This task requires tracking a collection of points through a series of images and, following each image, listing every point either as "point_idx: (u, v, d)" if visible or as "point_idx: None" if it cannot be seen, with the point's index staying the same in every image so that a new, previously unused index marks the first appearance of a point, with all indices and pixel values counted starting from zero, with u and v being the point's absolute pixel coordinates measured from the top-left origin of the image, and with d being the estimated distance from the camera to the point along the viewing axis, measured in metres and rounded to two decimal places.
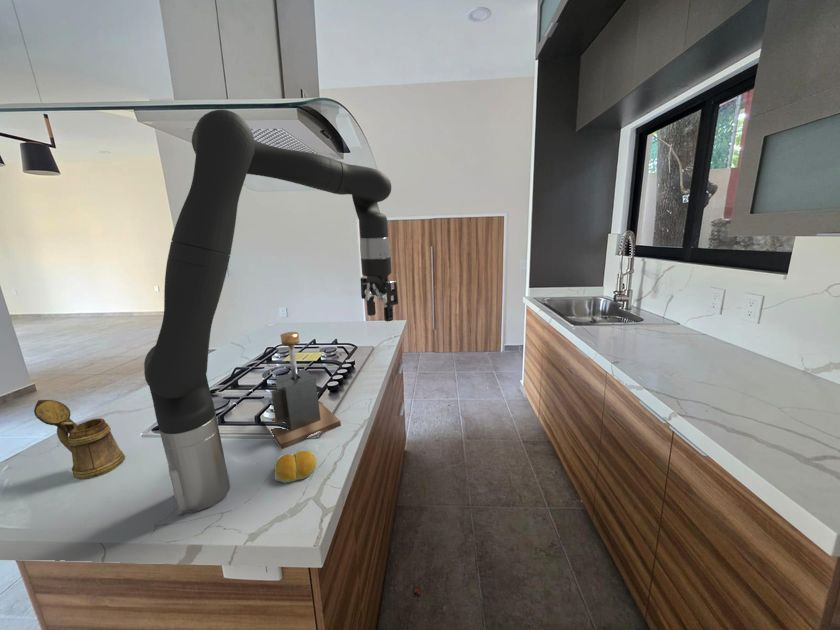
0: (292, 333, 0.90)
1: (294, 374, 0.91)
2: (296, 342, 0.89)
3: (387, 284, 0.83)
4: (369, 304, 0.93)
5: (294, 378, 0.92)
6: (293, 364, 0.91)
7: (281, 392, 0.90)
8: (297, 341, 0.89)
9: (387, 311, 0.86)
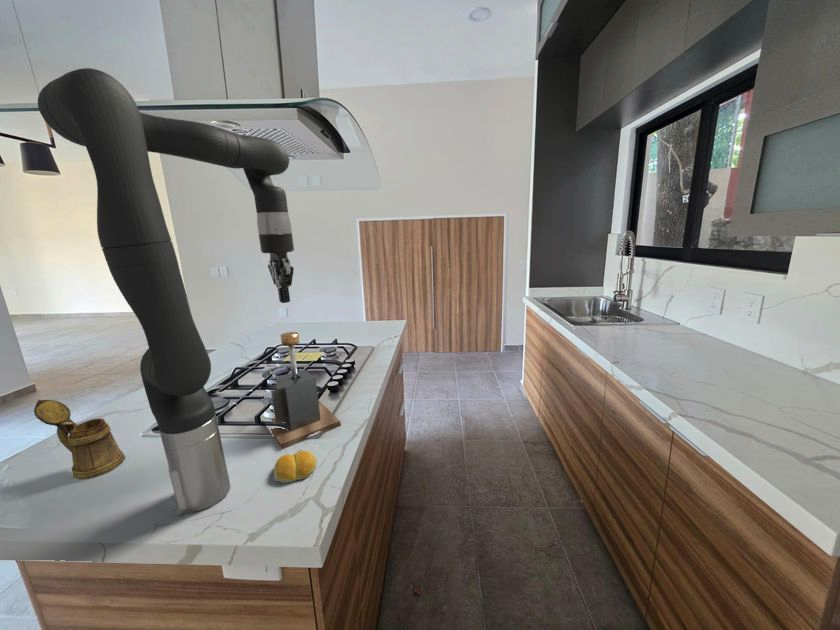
0: (292, 333, 0.90)
1: (294, 374, 0.91)
2: (296, 342, 0.89)
3: (282, 270, 0.80)
4: None
5: (294, 378, 0.92)
6: (293, 364, 0.91)
7: (281, 392, 0.90)
8: (297, 341, 0.89)
9: (281, 292, 0.85)
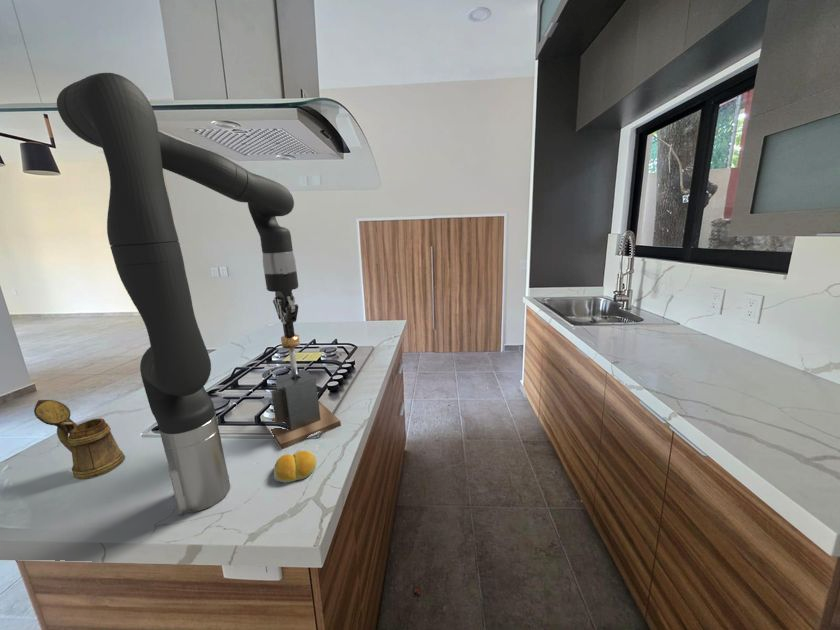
0: None
1: (295, 376, 0.92)
2: (296, 344, 0.89)
3: (287, 309, 0.82)
4: None
5: None
6: (293, 366, 0.91)
7: (281, 392, 0.90)
8: (297, 344, 0.89)
9: (286, 328, 0.88)
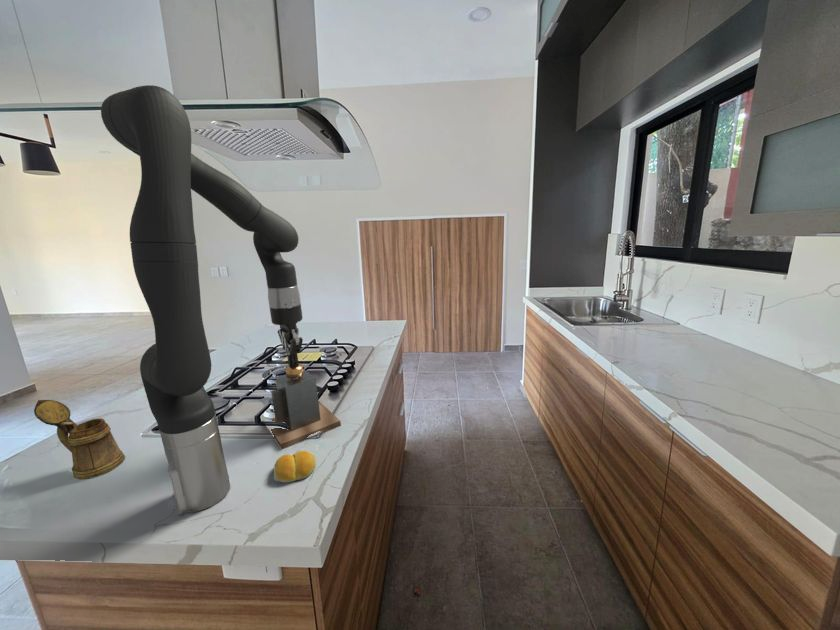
0: None
1: None
2: (300, 374, 0.91)
3: (292, 342, 0.84)
4: None
5: None
6: None
7: (281, 392, 0.90)
8: (301, 374, 0.91)
9: (291, 359, 0.90)
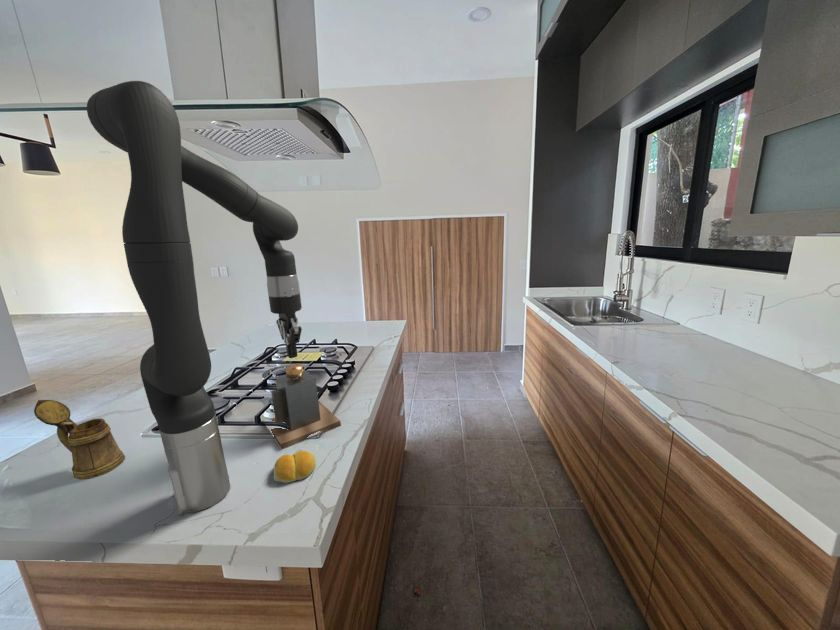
0: (296, 365, 0.92)
1: None
2: (300, 374, 0.91)
3: (291, 331, 0.84)
4: None
5: None
6: None
7: (281, 392, 0.90)
8: (301, 374, 0.91)
9: (289, 348, 0.89)
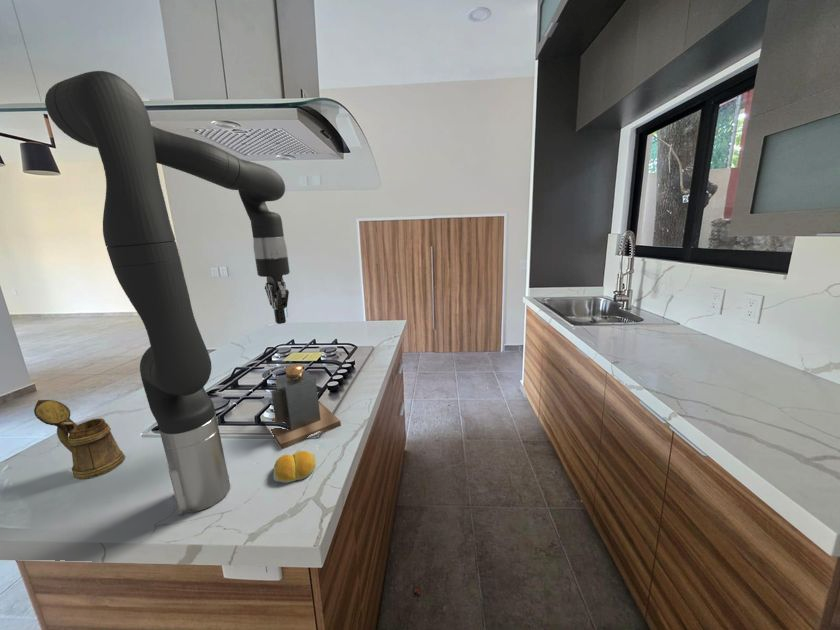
0: (296, 365, 0.92)
1: None
2: (300, 374, 0.91)
3: (278, 294, 0.82)
4: None
5: None
6: None
7: (281, 392, 0.90)
8: (301, 374, 0.91)
9: (277, 314, 0.88)
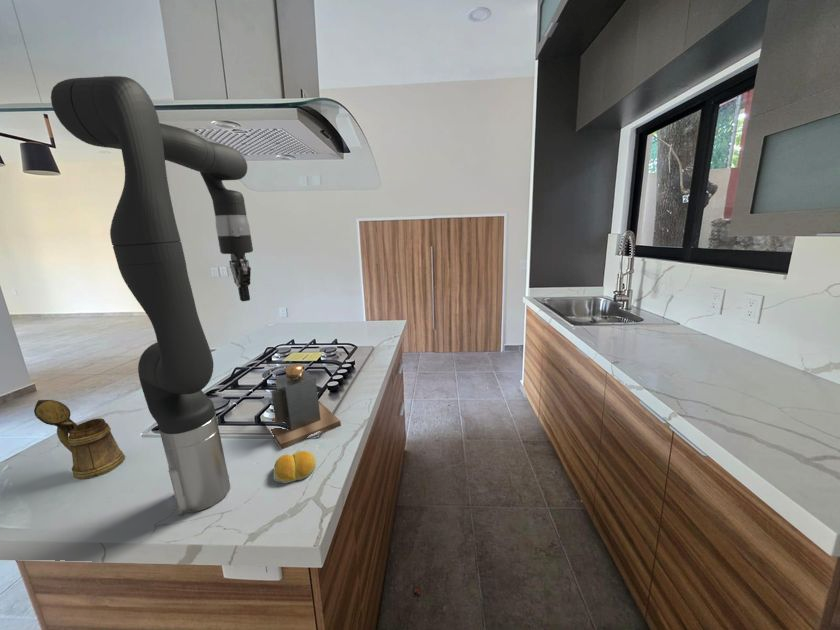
0: (296, 365, 0.92)
1: None
2: (300, 374, 0.91)
3: (239, 270, 0.84)
4: None
5: None
6: None
7: (281, 392, 0.90)
8: (301, 374, 0.91)
9: (241, 291, 0.90)
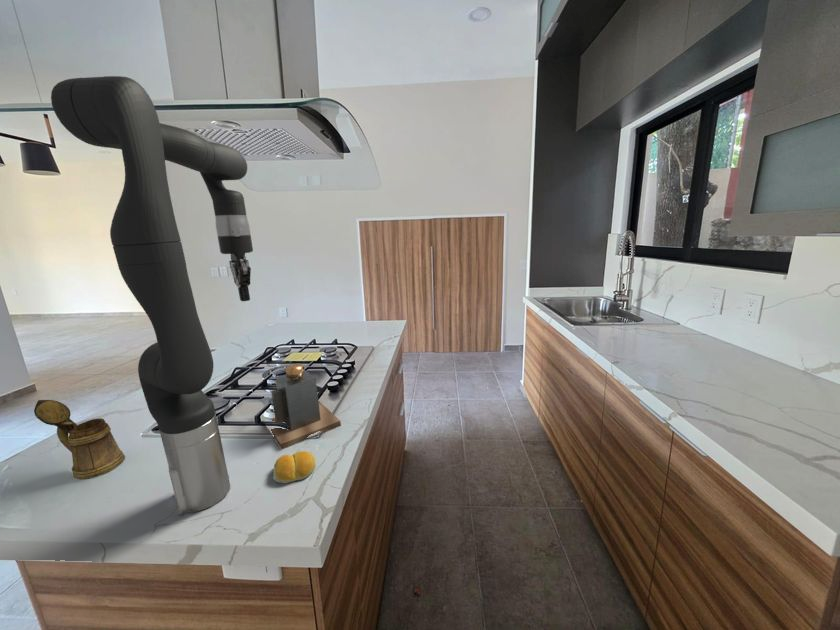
0: (296, 365, 0.92)
1: None
2: (300, 374, 0.91)
3: (239, 270, 0.84)
4: None
5: None
6: None
7: (281, 392, 0.90)
8: (301, 374, 0.91)
9: (241, 291, 0.90)
